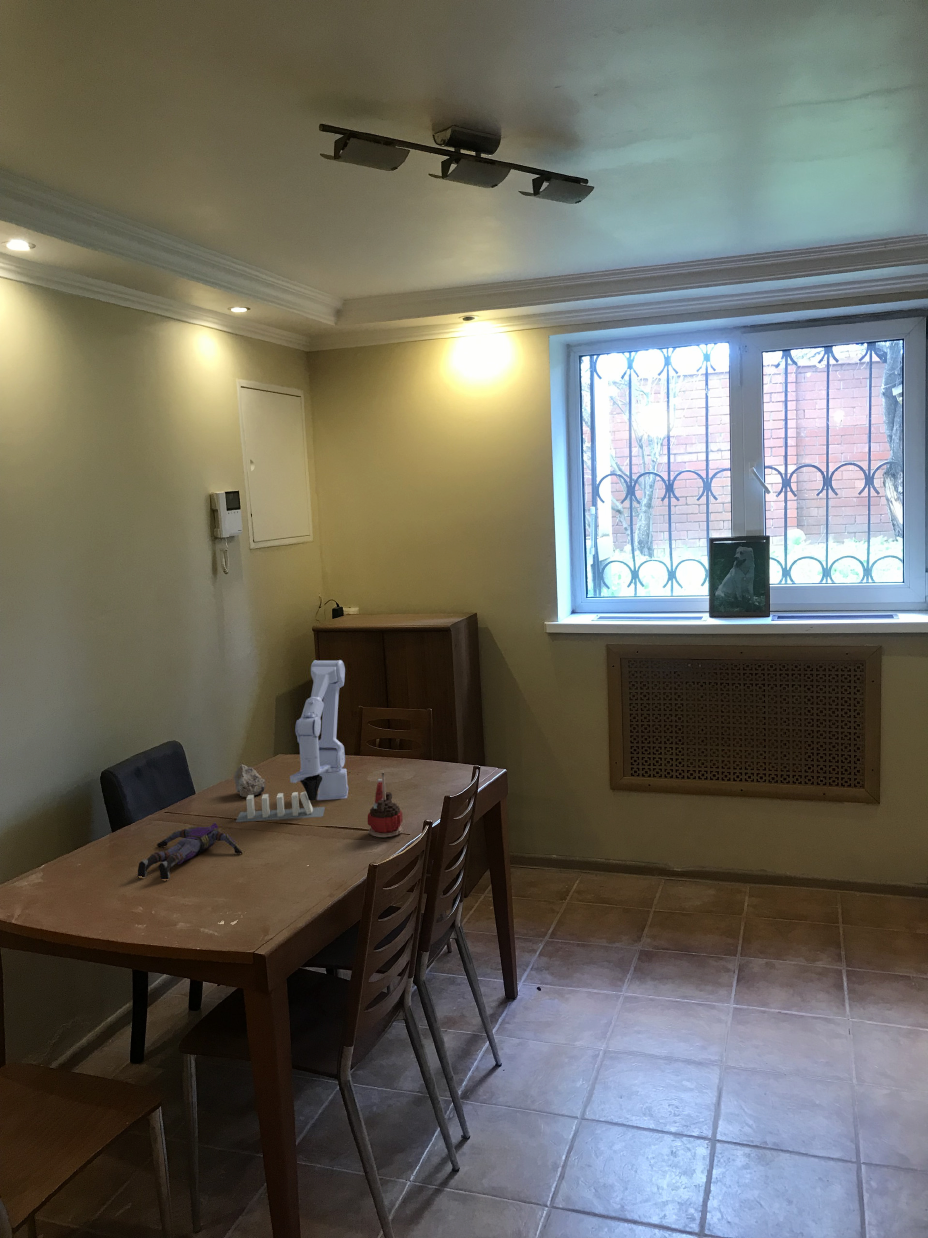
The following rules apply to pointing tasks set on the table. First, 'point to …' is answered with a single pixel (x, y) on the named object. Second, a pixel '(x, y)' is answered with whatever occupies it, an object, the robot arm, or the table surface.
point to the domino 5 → (306, 802)
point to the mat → (287, 815)
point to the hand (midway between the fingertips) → (312, 800)
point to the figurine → (185, 848)
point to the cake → (384, 813)
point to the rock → (248, 781)
